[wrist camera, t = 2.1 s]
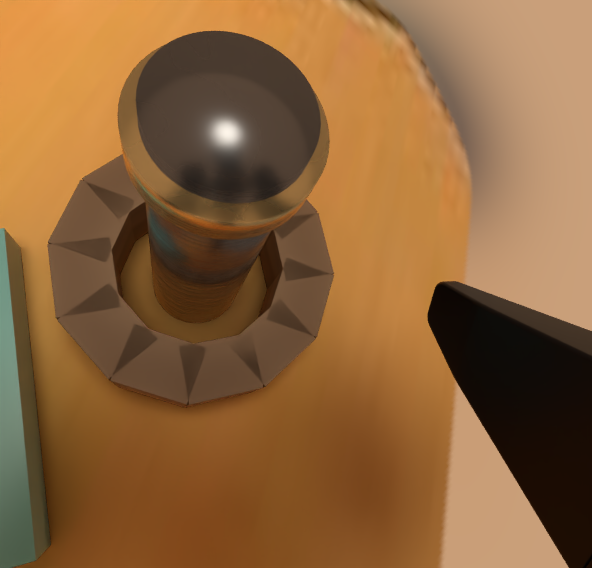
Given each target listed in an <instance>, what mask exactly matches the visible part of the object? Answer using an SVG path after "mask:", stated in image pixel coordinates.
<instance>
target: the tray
mask: <svg viewBox="0 0 592 568" xmlns="http://www.w3.org/2000/svg"><path fill="white" fill-rule="evenodd" d="M50 545H51V541H50V531H49V521H48V512H47V502H46V492H45V482H44V473H43V463H42V453H41V443H40V434H39V424H38V414H37V404H36V395H35V385H34V375H33V365H32V356H31V346H30V336H29V326H28V317H27V307H26V297H25V287H24V278H23V268H22V258H21V248H20V247H19V245H18V244H17V243H16V242H15V241H14V239H13V238H12V237H11V236H10V235H9V233H8V232H7V231H6V230H5V229H4V228H2V229H0V568H13V567H16V566H19V565H23V564H26V563H29V562H33V561H36V560H37V559H38V558H39V557H40V556H41V555H42V554H43V553H44V551H45V550H46V549H47V548H48V547H49V546H50Z"/></svg>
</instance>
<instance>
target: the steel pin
mask: <svg viewBox="0 0 592 568" xmlns="http://www.w3.org/2000/svg"><path fill="white" fill-rule="evenodd" d="M118 127H119V134H120V140H121V146H122V152H123V158H124V162H125V166H126V170H127V172H128V175H129V177H130V179H131V181H132V183H133V185H134V187H135V188H136V190H137V192H138V193H139V194H140V196H141V197H142V198H143V200H144V201H145V202H146V212H147V222H148V233H149V243H150V253H151V263H152V274H153V284H154V291H155V295H156V297H157V300H158V302H159V303H160V305H161V306H162V307H163V309H164V310H165V311H166V312H167V313H169V314H170V315H171V316H173V317H175V318H177V319H179V320H181V321H185V322H191V323H201V322H207V321H210V320H213V319H215V318H217V317H219V316H220V315H221V314H223V313H224V312H225V311H226V310H227V309H228V308H229V307H230V305H231V304H232V302H233V300H234V298H235V296H236V295H237V293H238V291H239V289H240V287H241V285H242V284H243V282H244V280H245V278H246V276H247V274H248V273H249V271H250V269H251V267H252V265H253V263H254V262H255V260H256V258H257V256H258V254H259V252H260V251H261V249H262V247H263V245H264V243H265V241H266V240H267V238H268V236H269V234H270V232H271V231H272V230H274V229H276V228H278V227H279V226H281V225H282V224H284V223H285V222H287V221H288V220H289V219H290V218H291V217H293V216H294V215H295V214H296V213H297V211H298V210H299V209H300V208H301V207H302V205H303V204H304V202H305V201H306V199H307V197H308V196H309V194H310V193H311V191H312V189H313V188H314V186H315V185H316V183H317V181H318V180H319V178H320V176H321V175H322V172H323V170H324V167H325V165H326V162H327V157H328V153H329V129H328V124H327V119H326V116H325V113H324V110H323V107H322V105H321V103H320V101H319V99H318V97H317V95H316V94H315V92H314V91H313V89H312V87H311V85H310V84H309V82H308V81H307V79H306V78H305V76H304V75H303V74H302V72H301V71H300V70H299V69H298V67H297V66H295V65H294V64H293V63H292V62H291V61H290V60H289V59H288V58H287V57H286V56H284V55H283V54H282V53H281V52H279V51H277V50H276V49H274V48H273V47H271V46H269V45H267V44H265V43H264V42H262V41H259V40H257V39H254V38H252V37H249V36H245V35H242V34H238V33H232V32H225V31H203V32H197V33H192V34H188V35H185V36H182V37H179V38H177V39H175V40H173V41H171V42H169V43H168V44H166V45H164V46H161V47H160V48H158V49H156V50H155V51H153V52H151V53H150V54H149V55H147V56H146V57H145V58H144V59H143V60H141V61H140V62H139V64H138V65H137V66H136V67H135V68H134V69H133V70H132V72H131V73H130V75H129V77H128V78H127V80H126V82H125V84H124V87H123V89H122V91H121V95H120V99H119V104H118Z"/></svg>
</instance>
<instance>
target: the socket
mask: <svg viewBox="0 0 592 568" xmlns="http://www.w3.org/2000/svg"><path fill="white" fill-rule="evenodd" d="M82 179H83V180H80V182H79V184H78V186H77V188H76V190H75V192H74V194H73V195H72V197H71V199H70V201H69V203H68V205H67V207H66V209H65V211H64V212H63V214H62V216H61V218H60V220H59V222H58V224H57V226H56V228H55V230H54V231H53V233H52V235H51V237H50V239H49V241H48V243H49V244H48V253H49V262H50V270H51V279H52V287H53V296H54V305H55V313H56V318H57V320H58V322H59V323H60V324H61V325H62V326H63V327H64V328H65V330H66V331H67V332H68V333H69V334H70V335H71V337H72V338H73V339H74V340H75V341H76V342H77V344H78V345H79V346H80V347H81V348H82V349H83V350H84V352H85V353H86V354H87V355H88V356H89V357H90V359H91V360H92V361H93V362H94V363H95V364H96V366H97V367H98V368H99V369H100V370H101V371H102V372H103V374H104V375H105V376H106V377H107V378H108V379H109V380H110V381H111V382H113V383H114V384H115V385H117V386H118V387H120V388H124V389H127V390H130V391H133V392H136V393H140V394H143V395H146V396H149V397H152V398H155V399H159V400H162V401H165V402H168V403H171V404H175V405H178V406H181V407H185V406H186V407H190V406H194V405H198V404H203V403H207V402H211V401H216V400H220V399H224V398H229V397H233V396H237V395H242V394H246V393H250V392H253V391H256V390H258V389H261V388H263V387H265V386H267V385H268V384H269V383H270V382H271V381H272V380H273V379H274V378H275V377H276V376H277V375H278V374H279V373H280V372H281V371H282V370H283V369H284V368H285V367H287V366H288V365H289V364H290V363H291V362H292V361H293V360H294V359H295V358H296V357H297V356H298V355H299V354H300V353H301V352H302V351H303V350H304V349H305V348H307V347H308V346H309V345H310V344H311V343H312V342H313V341H314V340H315V339H316V337H317V334H318V331H319V327H320V324H321V320H322V316H323V313H324V309H325V305H326V302H327V298H328V295H329V291H330V287H331V284H332V280H333V276H334V275H333V274H334V272H333V268H332V264H331V260H330V257H329V253H328V249H327V245H326V241H325V237H324V233H323V229H322V226H321V222H320V218H319V214H318V213H317V211H316V209H315V208H314V207H313V206H312V205H311V204H310V203H309V202H308V201H307V199H306V201H305V202H304V204H303V205H302V207H301V208H300V209H299V210H298V211H297V213H296V214H295V215H294V216H293V217H291V218H290V219H289V220H288V221H287V222H285V223H284V224H282V225H281V226H279V227H278V228H276V229H274V230H272V231H271V232H270V234H269V236H268V238H267V240H266V241H265V243H264V245H263V247H262V249H261V251H260V252H259V255H260V258H261V263H262V267H263V272H264V276H265V281H266V285H267V292H266V295H265V299H264V302H263V305H262V308H261V311H260V314H259V317H258V319H256V320H255V321H254V322H253V323H252V324H251V325H250V326H248V327H247V328H246V329H245V330H244V331H243V332H242V333H240V334H239V335H236V336H231V337H226V338H221V339H215V340H210V341H205V342H200V343H194V344H193V343H190V342H187V341H184V340H181V339H178V338H175V337H172V336H169V335H166V334H163V333H160V332H157V331H154V330H151V329H148V327H147V326H146V325H145V324H144V323H143V322H142V321H141V319H140V318H139V317H138V316H137V315H136V314H135V313H134V311H133V310H132V309H131V308H130V307H129V306H128V304H127V303H126V302H125V301H124V300H123V295H122V288H121V281H120V273H121V271H122V269H123V266H124V264H125V262H126V260H127V258H128V255H129V253H130V251H131V249H132V247H133V244H134V242H135V241H136V240H138V239H139V238H140V237H142V236H143V235H145V234H146V233H148V222H147V212H146V202H145V201H144V200H143V198H142V197H141V196H140V194H139V193H138V192H137V190H136V188H135V187H134V185H133V183H132V181H131V179H130V177H129V175H128V172H127V170H126V166H125V162H124V158H123V154H122V155H120V156H119V157H117V158H115V159H114V160H112V161H110V162H109V163H107V164H105V165H104V166H102V167H100V168H99V169H97V170H95V171H94V172H92V173H90V174H88V175H87V176H85V177H83V178H82Z"/></svg>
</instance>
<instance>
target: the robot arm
mask: <svg viewBox="0 0 592 568" xmlns="http://www.w3.org/2000/svg"><path fill="white" fill-rule="evenodd" d="M428 323H429V326H430V328H431V330H432V332H433V334H434V336H435V338H436V340H437V343H438V345H439V347H440V349H441V351H442V353H443V355H444V357H445V360H446V362H447V364H448V366H449V368H450V370H451V372H452V374H453V376H454V378H455V380H456V382H457V383H458V385H459V387H460V388H461V390H462V392H463V393H464V395H465V397H466V398H467V400H468V402H469V403H470V405H471V407H472V408H473V410H474V411H475V413H476V415H477V417H478V418H479V420H480V422H481V423H482V425H483V426H484V428H485V430H486V431H487V433H488V435H489V436H490V438H491V440H492V441H493V443H494V445H495V446H496V448H497V450H498V451H499V453H500V454H501V456H502V458H503V460H504V461H505V463H506V464H507V466H508V468H509V469H510V471H511V473H512V474H513V476H514V478H515V479H516V481H517V483H518V484H519V486H520V488H521V489H522V491H523V493H524V494H525V496H526V498H527V499H528V501H529V502H530V504H531V506H532V507H533V509H534V511H535V512H536V514H537V516H538V517H539V519H540V521H541V522H542V524H543V525H544V527H545V529H546V531H547V532H548V534H549V536H550V537H551V539H552V541H553V542H554V544H555V546H556V547H557V549H558V550H559V552H560V554H561V555H562V557H563V559H564V560H565V561H566V564H567V565H568V567H569V568H592V331H589V330H587V329H584V328H581V327H579V326H576V325H573V324H570V323H568V322H565V321H562V320H560V319H557V318H554V317H551V316H549V315H546V314H543V313H541V312H538V311H535V310H532V309H530V308H527V307H525V306H522V305H519V304H516V303H514V302H511V301H508V300H506V299H503V298H500V297H497V296H495V295H492V294H489V293H486V292H484V291H481V290H478V289H476V288H473V287H470V286H468V285H465V284H462V283H460V282H456V281H447V282H440V283H438V284H437V285H436V287H435V290H434V293H433V297H432V300H431V304H430V307H429V311H428Z"/></svg>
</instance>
